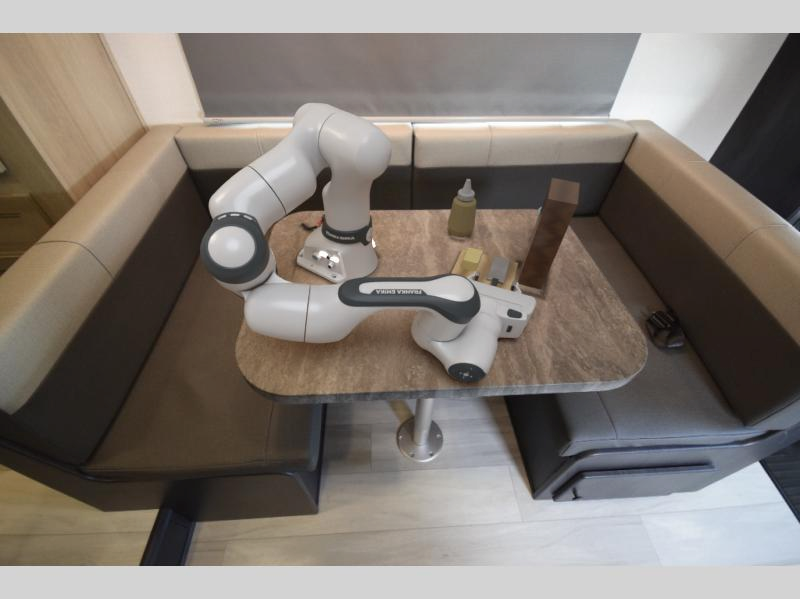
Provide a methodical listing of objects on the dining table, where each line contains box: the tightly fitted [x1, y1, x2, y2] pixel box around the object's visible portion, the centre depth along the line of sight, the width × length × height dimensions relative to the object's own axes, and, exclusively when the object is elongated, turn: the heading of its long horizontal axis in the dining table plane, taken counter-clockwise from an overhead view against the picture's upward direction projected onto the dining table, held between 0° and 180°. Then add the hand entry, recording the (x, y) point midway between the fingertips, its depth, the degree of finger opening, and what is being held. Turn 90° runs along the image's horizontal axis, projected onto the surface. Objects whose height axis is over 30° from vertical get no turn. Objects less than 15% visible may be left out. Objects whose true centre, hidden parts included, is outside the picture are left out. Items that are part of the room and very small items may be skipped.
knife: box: [486, 255, 511, 287], centre depth 91 cm, size 4×18×2 cm, turn 158°
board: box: [450, 248, 519, 291], centre depth 95 cm, size 16×13×2 cm
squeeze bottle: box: [447, 178, 477, 238], centre depth 102 cm, size 8×8×18 cm
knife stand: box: [517, 177, 581, 290], centre depth 85 cm, size 8×12×26 cm, turn 158°
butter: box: [462, 246, 484, 271], centre depth 95 cm, size 4×6×3 cm, turn 158°
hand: (495, 278), depth 86 cm, fingers open, 8 cm apart
